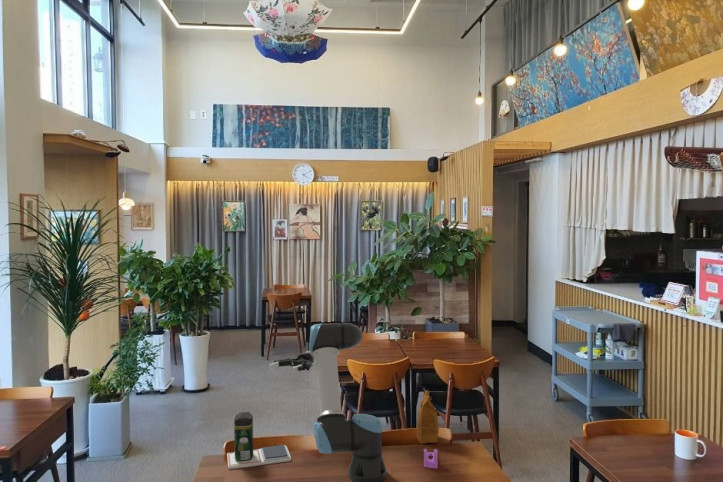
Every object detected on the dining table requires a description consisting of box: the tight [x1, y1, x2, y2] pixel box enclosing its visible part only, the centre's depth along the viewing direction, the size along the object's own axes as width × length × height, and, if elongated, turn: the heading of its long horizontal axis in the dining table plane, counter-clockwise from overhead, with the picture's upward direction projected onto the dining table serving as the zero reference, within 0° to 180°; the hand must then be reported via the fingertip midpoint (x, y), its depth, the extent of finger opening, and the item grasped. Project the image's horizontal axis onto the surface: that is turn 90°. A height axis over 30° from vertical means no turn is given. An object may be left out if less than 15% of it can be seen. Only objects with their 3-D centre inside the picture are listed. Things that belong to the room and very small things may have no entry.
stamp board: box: [226, 445, 292, 470], centre depth 218 cm, size 14×26×1 cm, turn 107°
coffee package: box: [416, 390, 440, 445], centre depth 237 cm, size 10×12×22 cm
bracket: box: [423, 448, 439, 469], centre depth 214 cm, size 13×6×7 cm, turn 173°
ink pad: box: [260, 444, 291, 461], centre depth 220 cm, size 13×11×1 cm
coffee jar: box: [233, 411, 254, 461], centre depth 217 cm, size 10×8×19 cm
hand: (281, 369), depth 233 cm, fingers open, 13 cm apart
